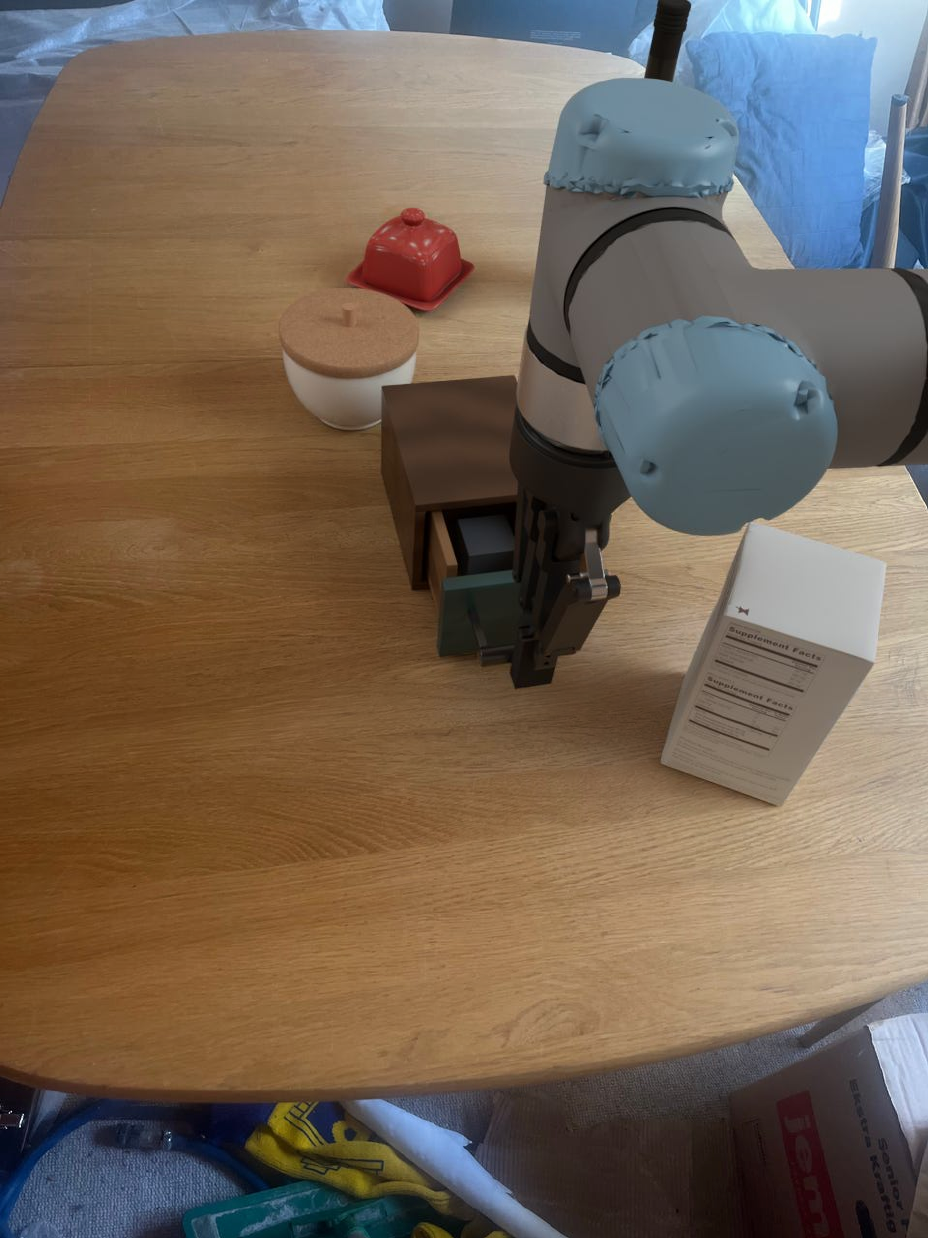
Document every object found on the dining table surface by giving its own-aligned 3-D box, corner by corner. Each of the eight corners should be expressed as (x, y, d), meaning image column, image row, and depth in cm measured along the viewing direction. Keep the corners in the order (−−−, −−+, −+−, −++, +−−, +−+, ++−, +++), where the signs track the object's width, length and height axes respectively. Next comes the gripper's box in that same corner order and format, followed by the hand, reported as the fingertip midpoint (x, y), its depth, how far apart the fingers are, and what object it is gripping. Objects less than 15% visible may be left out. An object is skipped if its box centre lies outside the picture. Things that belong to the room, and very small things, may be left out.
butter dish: (339, 290, 106) (337, 216, 100) (392, 245, 113) (394, 173, 106) (430, 323, 103) (434, 249, 97) (479, 275, 110) (486, 203, 104)
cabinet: (546, 573, 81) (563, 489, 74) (411, 590, 79) (415, 505, 71) (502, 459, 90) (514, 374, 83) (380, 472, 88) (381, 385, 80)
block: (500, 548, 80) (505, 513, 77) (513, 583, 77) (518, 549, 74) (453, 554, 79) (457, 519, 76) (465, 590, 77) (468, 555, 73)
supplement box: (782, 811, 68) (878, 668, 55) (657, 766, 70) (721, 617, 57) (801, 708, 74) (892, 558, 61) (685, 669, 76) (749, 515, 63)
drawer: (587, 689, 72) (606, 624, 66) (453, 710, 70) (460, 644, 64) (523, 520, 84) (534, 451, 78) (405, 533, 82) (408, 463, 76)
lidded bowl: (426, 443, 91) (432, 343, 82) (292, 454, 88) (283, 352, 80) (404, 363, 98) (407, 264, 90) (280, 371, 96) (271, 270, 88)
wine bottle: (629, 319, 107) (699, 17, 84) (580, 306, 108) (636, 4, 85) (641, 294, 110) (712, -3, 87) (593, 281, 111) (651, -15, 88)
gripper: (700, 489, 47) (609, 747, 65) (614, 334, 55) (554, 602, 73) (554, 505, 45) (502, 765, 63) (487, 343, 53) (458, 615, 71)
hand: (530, 678), depth 68 cm, fingers closed
